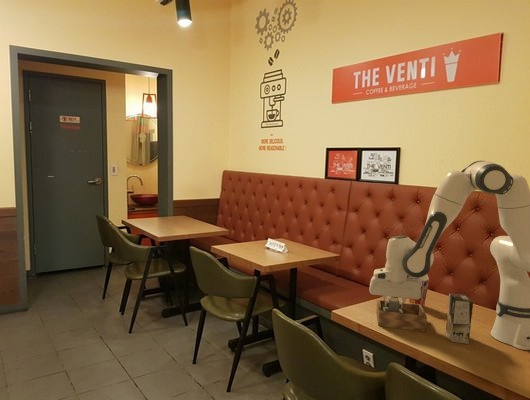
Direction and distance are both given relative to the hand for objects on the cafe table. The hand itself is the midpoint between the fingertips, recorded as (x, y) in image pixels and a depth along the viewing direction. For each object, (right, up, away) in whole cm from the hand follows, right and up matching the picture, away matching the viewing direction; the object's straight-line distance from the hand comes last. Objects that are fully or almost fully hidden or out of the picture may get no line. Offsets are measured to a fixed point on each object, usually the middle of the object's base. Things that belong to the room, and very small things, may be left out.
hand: (393, 306), depth 165 cm
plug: (0, -4, 0) cm, 4 cm away
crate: (+3, -6, 0) cm, 7 cm away
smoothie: (+17, -5, +19) cm, 26 cm away
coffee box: (+20, -9, -13) cm, 25 cm away
